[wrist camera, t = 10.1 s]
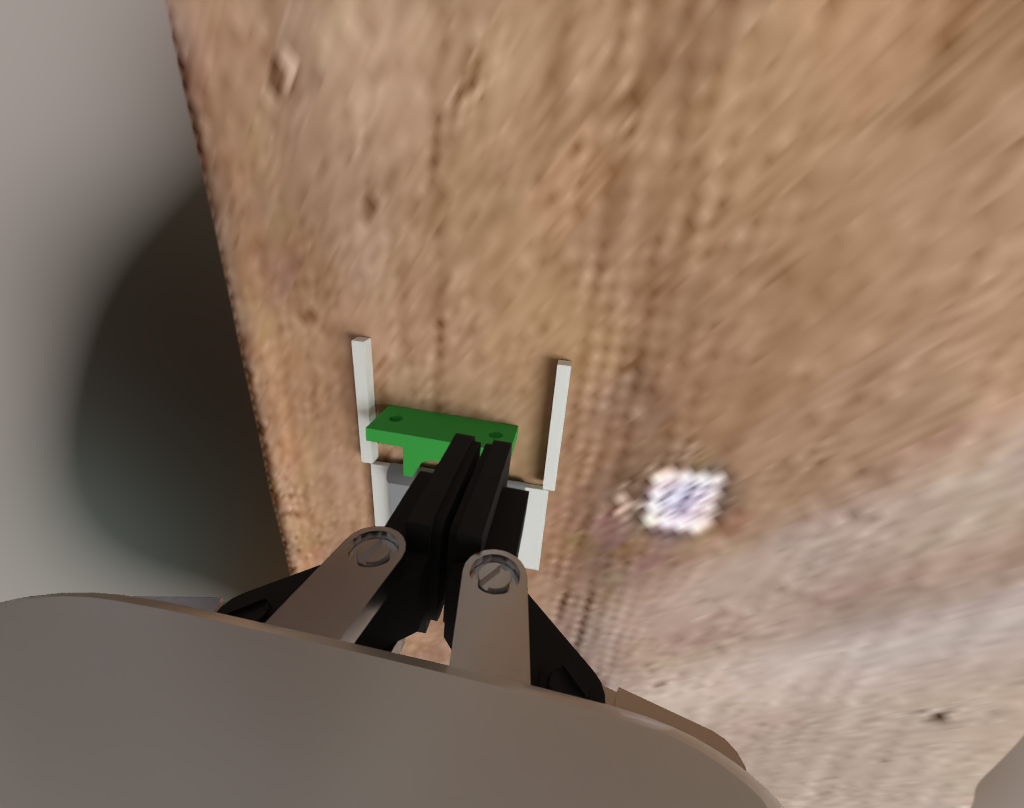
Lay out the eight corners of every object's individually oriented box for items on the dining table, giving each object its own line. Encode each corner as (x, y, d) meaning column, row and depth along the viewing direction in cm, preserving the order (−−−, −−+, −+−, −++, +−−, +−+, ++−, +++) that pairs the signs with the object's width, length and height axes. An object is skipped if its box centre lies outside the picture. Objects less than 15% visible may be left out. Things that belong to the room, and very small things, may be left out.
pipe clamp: (391, 441, 38) (366, 469, 34) (390, 403, 37) (364, 427, 33) (514, 463, 37) (504, 495, 33) (519, 425, 36) (509, 452, 32)
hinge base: (358, 336, 35) (347, 342, 33) (571, 361, 33) (570, 368, 31) (374, 537, 43) (366, 549, 41) (544, 566, 41) (542, 580, 39)
